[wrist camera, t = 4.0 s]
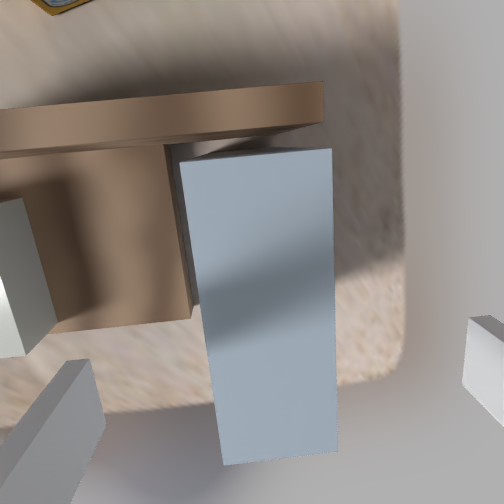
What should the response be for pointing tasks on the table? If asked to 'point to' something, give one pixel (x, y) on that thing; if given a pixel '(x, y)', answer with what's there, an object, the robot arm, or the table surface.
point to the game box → (57, 5)
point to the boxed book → (267, 297)
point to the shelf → (125, 192)
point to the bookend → (21, 284)
